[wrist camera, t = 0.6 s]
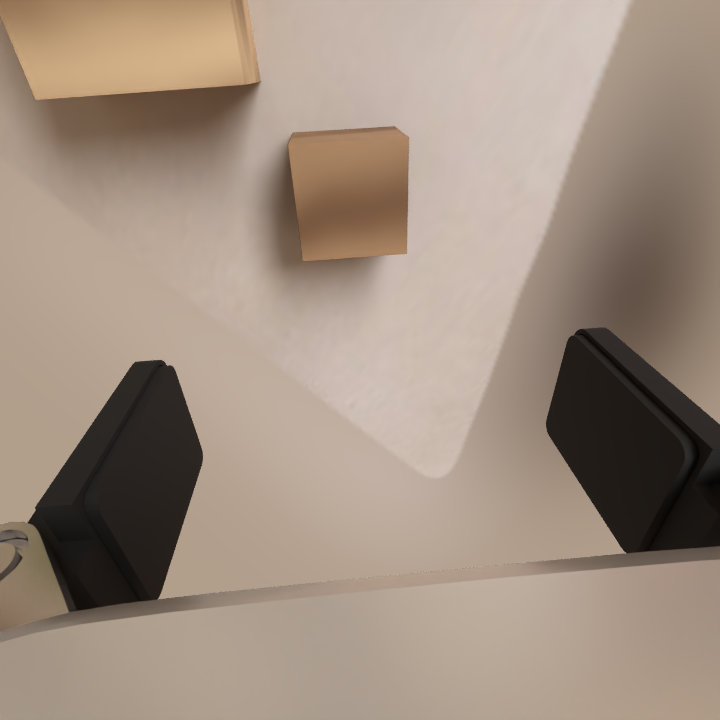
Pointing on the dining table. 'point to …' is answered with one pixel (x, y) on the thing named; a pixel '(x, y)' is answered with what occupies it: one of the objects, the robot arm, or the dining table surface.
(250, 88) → the dining table surface
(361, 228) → the walnut block
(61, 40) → the oak base
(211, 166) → the dining table surface
